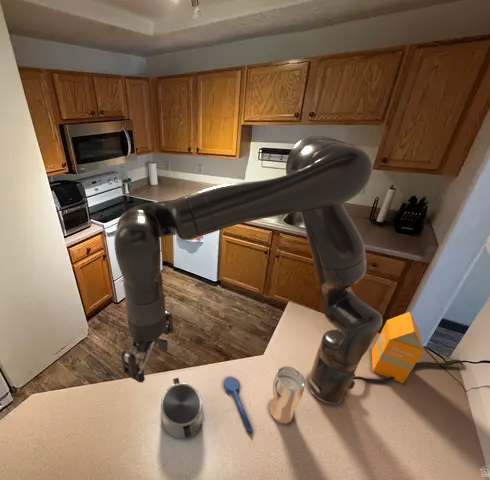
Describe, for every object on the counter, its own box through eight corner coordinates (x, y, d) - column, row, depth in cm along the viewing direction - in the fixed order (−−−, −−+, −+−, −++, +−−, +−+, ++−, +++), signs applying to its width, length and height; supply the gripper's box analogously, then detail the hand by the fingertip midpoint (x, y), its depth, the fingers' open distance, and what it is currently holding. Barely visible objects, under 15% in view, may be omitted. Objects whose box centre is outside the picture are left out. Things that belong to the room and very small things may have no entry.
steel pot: (194, 385, 79) (194, 373, 76) (209, 441, 66) (210, 428, 63) (158, 393, 77) (156, 381, 74) (167, 452, 64) (165, 440, 61)
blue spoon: (235, 377, 80) (235, 374, 80) (258, 431, 67) (259, 428, 67) (221, 380, 80) (221, 377, 79) (242, 435, 67) (243, 433, 66)
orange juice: (372, 371, 81) (396, 325, 71) (371, 350, 87) (393, 306, 78) (403, 383, 77) (433, 337, 67) (400, 361, 84) (427, 315, 74)
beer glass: (296, 428, 68) (309, 394, 60) (269, 422, 69) (277, 388, 62) (291, 401, 74) (302, 367, 66) (266, 396, 75) (274, 363, 68)
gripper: (137, 344, 43) (145, 400, 51) (181, 295, 53) (182, 348, 61) (105, 326, 46) (117, 381, 54) (152, 283, 57) (157, 335, 65)
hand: (152, 364), depth 58 cm, fingers open, 8 cm apart
